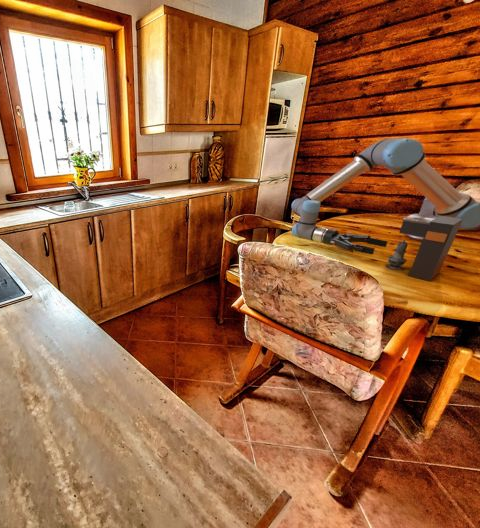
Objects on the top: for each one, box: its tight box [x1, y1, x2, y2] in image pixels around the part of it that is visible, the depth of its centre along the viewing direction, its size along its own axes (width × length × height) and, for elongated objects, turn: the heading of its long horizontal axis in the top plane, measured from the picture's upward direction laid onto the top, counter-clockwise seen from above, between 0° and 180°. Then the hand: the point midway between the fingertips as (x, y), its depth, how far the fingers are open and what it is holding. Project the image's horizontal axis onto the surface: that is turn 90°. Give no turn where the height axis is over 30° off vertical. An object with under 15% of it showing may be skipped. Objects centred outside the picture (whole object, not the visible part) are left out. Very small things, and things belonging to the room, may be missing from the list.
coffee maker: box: [398, 212, 463, 282], centre depth 107 cm, size 13×13×22 cm
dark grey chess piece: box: [385, 239, 409, 271], centre depth 114 cm, size 6×6×12 cm
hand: (380, 247), depth 118 cm, fingers open, 13 cm apart
